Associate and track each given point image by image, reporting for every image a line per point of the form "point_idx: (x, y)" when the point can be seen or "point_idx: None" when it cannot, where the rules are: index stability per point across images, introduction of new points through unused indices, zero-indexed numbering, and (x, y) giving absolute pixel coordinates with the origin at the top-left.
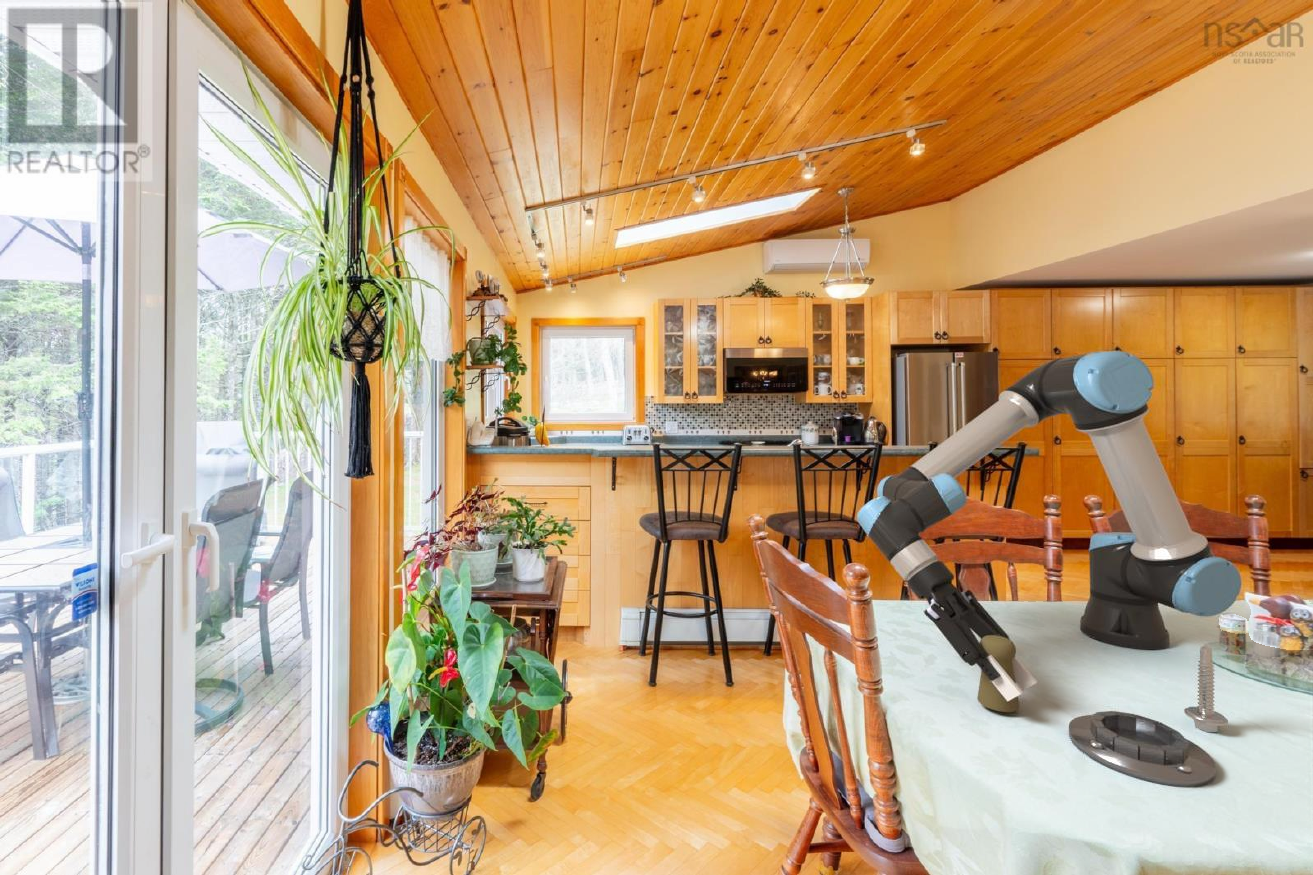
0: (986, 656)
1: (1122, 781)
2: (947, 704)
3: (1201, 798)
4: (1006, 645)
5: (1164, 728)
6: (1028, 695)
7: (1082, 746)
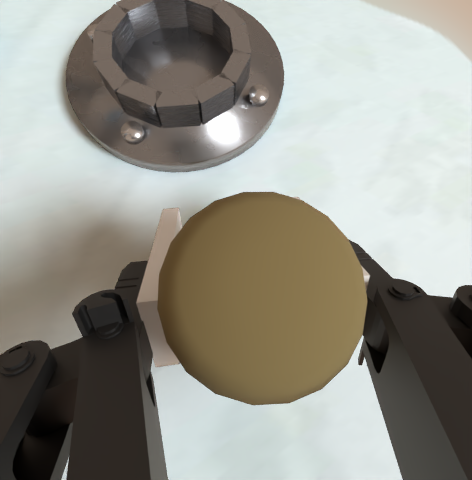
0: (388, 279)
1: (301, 66)
2: (338, 397)
3: (247, 6)
4: (302, 202)
5: (120, 19)
6: None
7: (272, 116)
